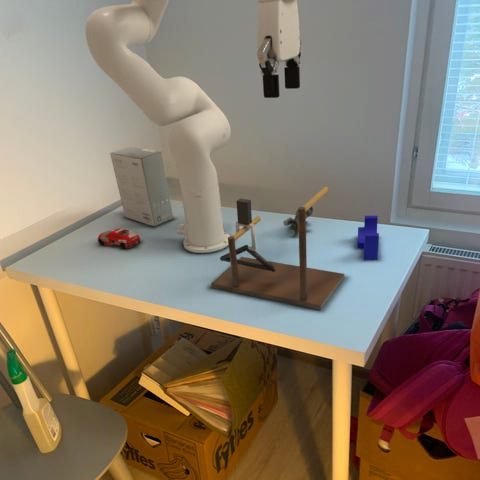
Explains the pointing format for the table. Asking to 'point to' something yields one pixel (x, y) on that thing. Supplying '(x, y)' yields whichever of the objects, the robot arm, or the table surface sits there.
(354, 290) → the table surface
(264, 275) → the rack
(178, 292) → the table surface
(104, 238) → the race car
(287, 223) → the eagle figurine
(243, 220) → the hanger
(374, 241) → the cable clip
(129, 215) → the hard drive box
